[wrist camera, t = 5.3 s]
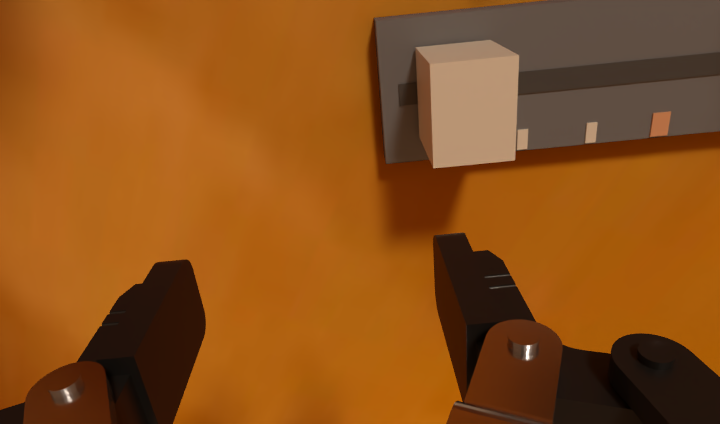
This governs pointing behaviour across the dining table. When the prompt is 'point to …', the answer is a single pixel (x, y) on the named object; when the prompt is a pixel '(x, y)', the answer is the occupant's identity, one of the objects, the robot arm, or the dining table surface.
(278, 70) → the dining table surface
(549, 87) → the board
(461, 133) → the knob
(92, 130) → the dining table surface
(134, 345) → the robot arm
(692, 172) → the dining table surface
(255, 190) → the dining table surface
